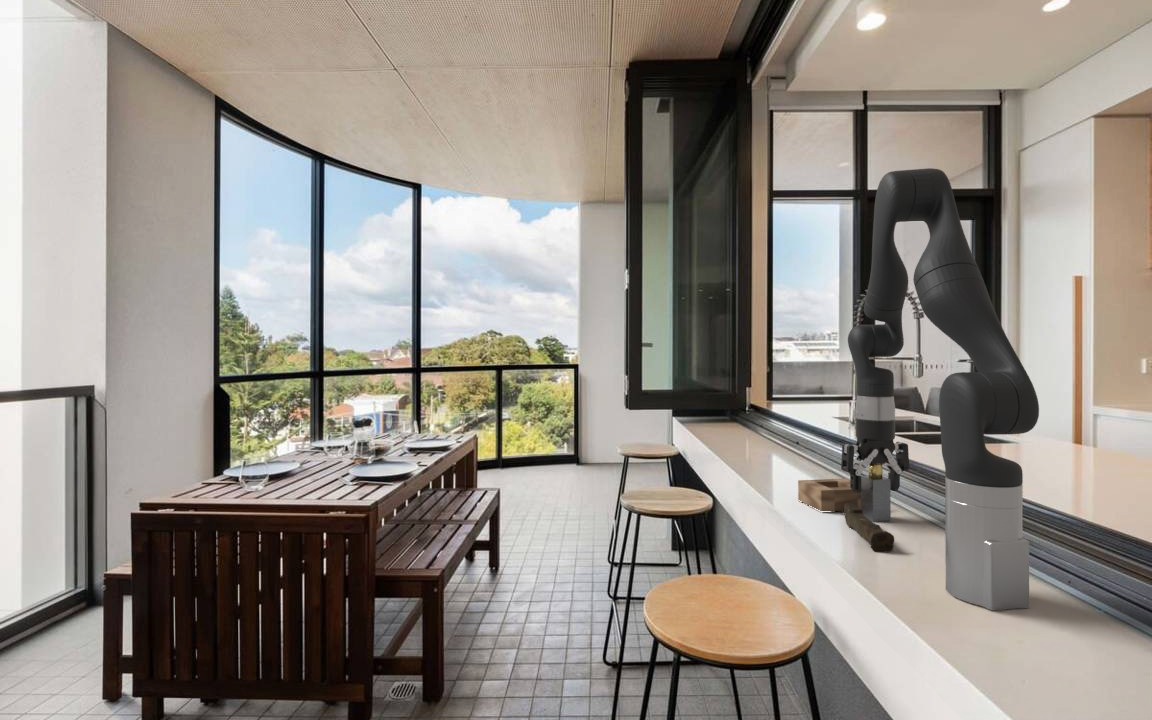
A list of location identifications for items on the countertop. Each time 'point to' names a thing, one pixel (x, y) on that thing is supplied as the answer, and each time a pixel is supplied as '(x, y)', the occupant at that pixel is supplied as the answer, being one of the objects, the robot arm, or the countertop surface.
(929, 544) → the countertop surface
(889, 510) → the bit
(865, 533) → the dark brown rod
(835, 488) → the housing
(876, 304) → the robot arm
